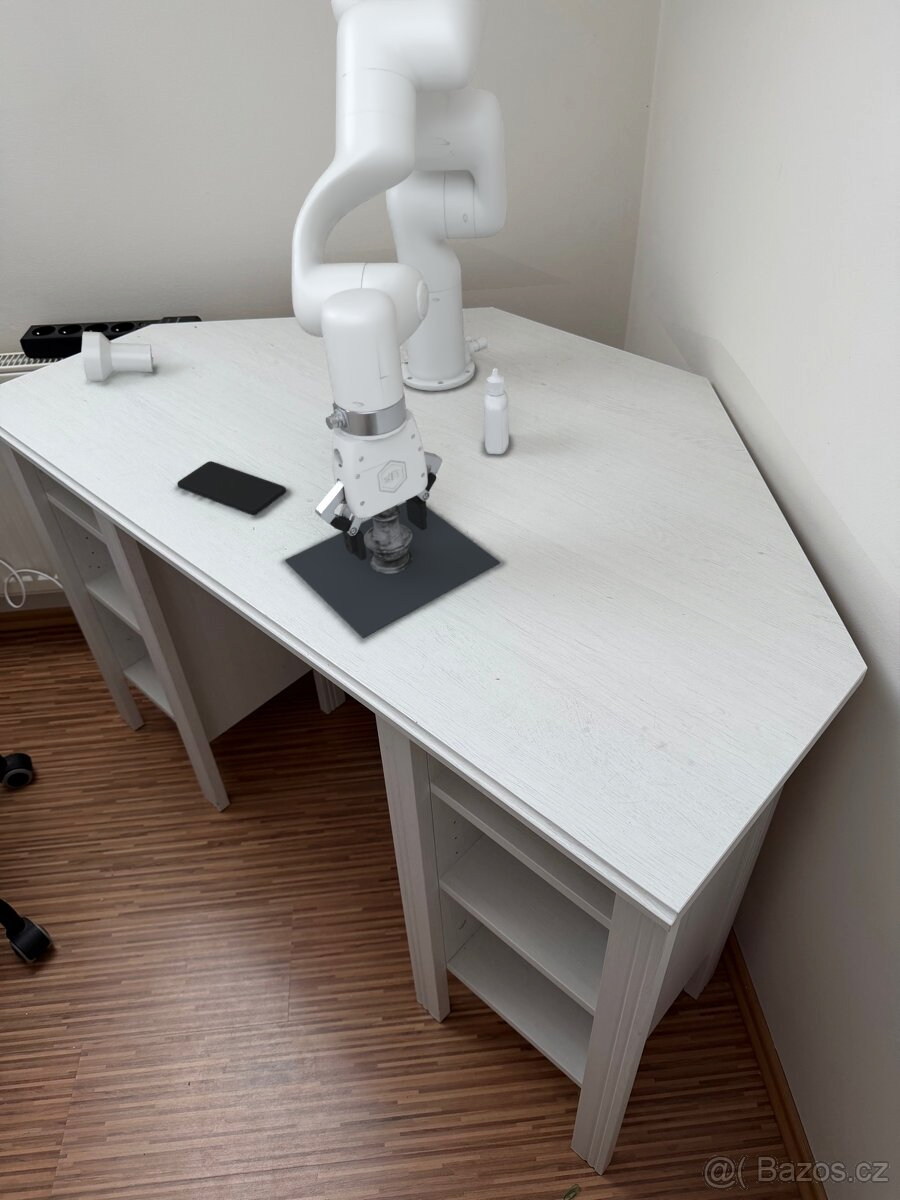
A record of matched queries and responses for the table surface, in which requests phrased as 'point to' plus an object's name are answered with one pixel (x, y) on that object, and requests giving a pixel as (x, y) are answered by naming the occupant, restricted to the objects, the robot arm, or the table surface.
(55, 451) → the table surface
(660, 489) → the table surface
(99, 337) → the spotlight
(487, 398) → the eye dropper bottle
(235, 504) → the smartphone
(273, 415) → the table surface
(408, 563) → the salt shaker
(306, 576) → the mat
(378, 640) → the table surface
